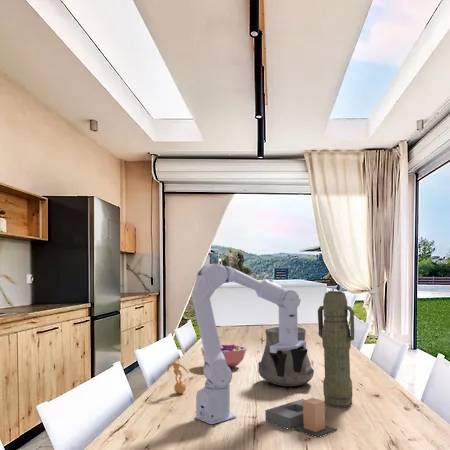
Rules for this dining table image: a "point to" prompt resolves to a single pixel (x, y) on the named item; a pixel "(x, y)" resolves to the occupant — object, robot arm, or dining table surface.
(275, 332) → the vessel
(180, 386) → the figurine
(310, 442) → the dining table surface
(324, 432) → the coaster
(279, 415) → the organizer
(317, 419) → the terracotta block
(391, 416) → the dining table surface
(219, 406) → the robot arm
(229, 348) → the cell model
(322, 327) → the thermos
